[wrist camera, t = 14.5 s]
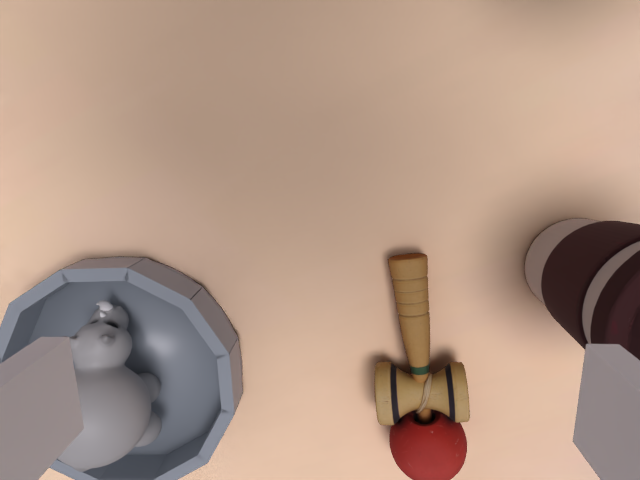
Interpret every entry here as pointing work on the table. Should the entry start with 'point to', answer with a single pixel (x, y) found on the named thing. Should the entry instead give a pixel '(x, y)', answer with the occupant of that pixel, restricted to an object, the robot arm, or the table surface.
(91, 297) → the round tray
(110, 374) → the round bodied animal figurine
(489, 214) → the table surface
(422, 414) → the kendama
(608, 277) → the coffee cup
